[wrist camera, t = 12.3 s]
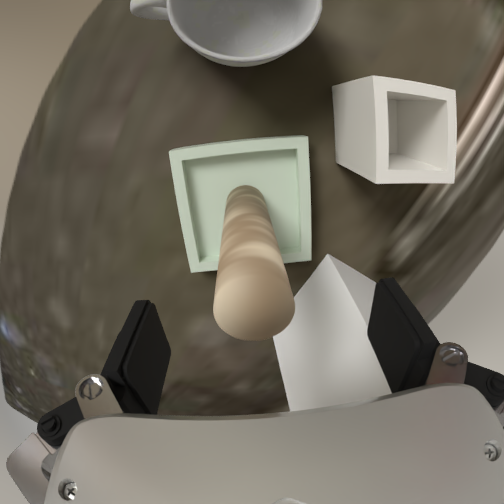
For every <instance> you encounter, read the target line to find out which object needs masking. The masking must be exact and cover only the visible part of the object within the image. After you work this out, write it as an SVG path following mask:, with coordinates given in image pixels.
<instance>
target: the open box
mask: <svg viewBox="0 0 504 504" xmlns="http://www.w3.org/2000/svg"><path fill="white" fill-rule="evenodd" d="M332 96H333V109H334V126H335V148H336V163H338V164H340V165H342V166H344V167H346V168H348V169H350V170H351V171H353V172H355V173H357V174H359V175H361V176H363V177H364V178H366V179H368V180H370V181H372V182H373V183H375V184H391V183H454V178H455V165H456V139H457V119H456V94H455V90H451V89H447V88H443V87H439V86H434V85H429V84H424V83H419V82H414V81H408V80H402V79H395V78H388V77H380V76H369V77H365V78H361V79H357V80H353V81H349V82H345V83H342V84H338V85H335V86H332Z"/></svg>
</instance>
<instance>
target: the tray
mask: <svg viewBox="0 0 504 504" xmlns="http://www.w3.org/2000/svg"><path fill="white" fill-rule="evenodd" d="M169 156H170V163H171V169H172V175H173V181H174V187H175V193H176V199H177V204H178V210H179V215H180V221H181V226H182V231H183V236H184V241H185V246H186V251H187V256H188V260H189V265H190V270H191V273H192V272H202V271H213V270H218V262H219V254H220V246H221V238H222V230H223V223H224V215H225V208H226V201H227V197H228V195H229V193H230V192H231V191H232V190H233V189H235V188H236V187H238V186H242V185H249V186H253V187H255V188H257V189H258V190H259V191H260V192H261V193H262V195H263V197H264V200H265V203H266V206H267V209H268V213H269V216H270V219H271V223H272V226H273V229H274V232H275V236H276V239H277V242H278V246H279V249H280V253H281V256H282V259H283V263H291V262H300V261H309V260H311V193H310V166H309V146H308V137H307V136H304V135H295V136H278V137H264V138H252V139H242V140H232V141H224V142H216V143H208V144H201V145H194V146H187V147H181V148H175V149H172V150H170V151H169Z"/></svg>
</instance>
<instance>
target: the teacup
mask: <svg viewBox="0 0 504 504" xmlns="http://www.w3.org/2000/svg"><path fill="white" fill-rule="evenodd" d="M130 11H131V13H132V14H133V15H135V16H137V17H141V18H147V19H157V20H169V21H170V23H171V25H172V27H173V29H174V31H175V32H176V34H177V35H178V36H179V37H180V38H181V39H182V41H183V42H185V43H186V44H187V45H188V46H190V47H191V48H193V49H194V50H195V51H196V52H198V53H199V54H201V55H202V56H204V57H205V58H207V59H209V60H211V61H214V62H216V63H220V64H223V65H228V66H235V67H248V66H256V65H260V64H264V63H267V62H270V61H272V60H275V59H277V58H279V57H280V56H282V55H284V54H285V53H287V52H288V51H290V50H292V49H294V48H295V47H297V46H298V45H300V44H301V43H302V42H303V41H304V40H305V39H306V38H307V37H308V36H309V35H310V34H311V33H312V31H313V29H314V28H315V26H316V25H317V23H318V20H319V18H320V15H321V11H322V0H131V3H130Z"/></svg>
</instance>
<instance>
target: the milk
mask: <svg viewBox="0 0 504 504" xmlns="http://www.w3.org/2000/svg"><path fill="white" fill-rule="evenodd" d="M375 285H376V282H374V281H372V280H371V279H369V278H367V277H366V276H364V275H363V274H361V273H359V272H358V271H356V270H354V269H353V268H351V267H349V266H348V265H346V264H344V263H343V262H341V261H339V260H338V259H336V258H334V257H333V256H331V255H329V254H327V255H326V256H325V258H324V259H323V260H322V262H321V263H320V264H319V266H318V267H317V268H316V270H315V271H314V272H313V274H312V275H311V276H310V277H309V279H308V280H307V281H306V283H305V284H304V285H303V286H302V288H301V289H300V290H299V292H298V293H297V294H296V295H295V297H294V301H295V313H294V316H293V319H292V321H291V322H290V324H289V325H288V326H287V327H286V328H285V329H284V330H283V331H282V332H280V333H279V334H277V335H275V336H273V339H274V344H275V348H276V352H277V356H278V361H279V365H280V369H281V373H282V378H283V382H284V386H285V390H286V395H287V399H288V403H289V408H290V412H291V411H299V410H307V409H314V408H321V407H328V406H334V405H340V404H345V403H350V402H356V401H360V400H365V399H370V398H374V397H379V396H383V395H388V394H392V392H391V390H390V387H389V385H388V383H387V380H386V378H385V375H384V373H383V371H382V368H381V366H380V364H379V361H378V359H377V357H376V354H375V352H374V350H373V348H372V345H371V343H370V341H369V339H368V336H367V329H368V324H369V319H370V313H371V308H372V303H373V297H374V291H375Z"/></svg>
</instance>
